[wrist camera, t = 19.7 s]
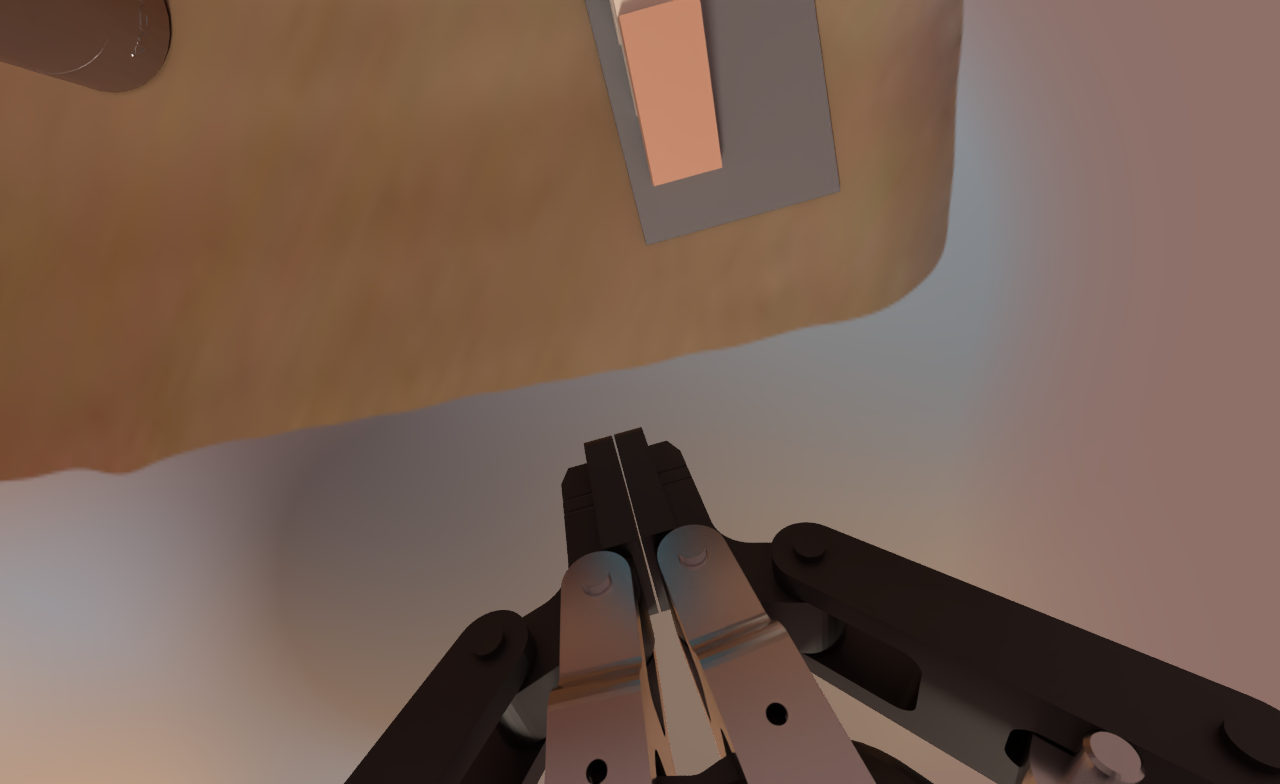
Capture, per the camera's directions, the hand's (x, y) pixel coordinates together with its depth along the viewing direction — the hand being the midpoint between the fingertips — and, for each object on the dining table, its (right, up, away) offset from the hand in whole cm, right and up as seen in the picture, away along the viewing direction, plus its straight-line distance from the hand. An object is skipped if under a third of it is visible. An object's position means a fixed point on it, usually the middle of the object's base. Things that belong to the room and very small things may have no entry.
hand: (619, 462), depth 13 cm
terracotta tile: (+4, +17, +24) cm, 30 cm away
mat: (+5, +26, +22) cm, 34 cm away
